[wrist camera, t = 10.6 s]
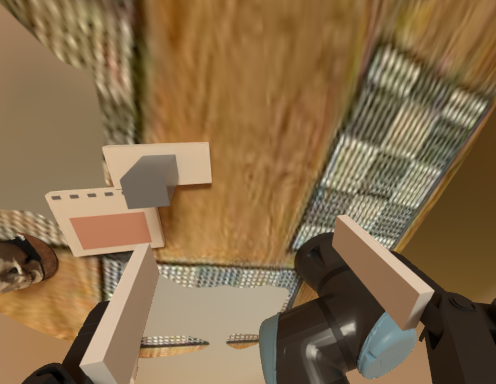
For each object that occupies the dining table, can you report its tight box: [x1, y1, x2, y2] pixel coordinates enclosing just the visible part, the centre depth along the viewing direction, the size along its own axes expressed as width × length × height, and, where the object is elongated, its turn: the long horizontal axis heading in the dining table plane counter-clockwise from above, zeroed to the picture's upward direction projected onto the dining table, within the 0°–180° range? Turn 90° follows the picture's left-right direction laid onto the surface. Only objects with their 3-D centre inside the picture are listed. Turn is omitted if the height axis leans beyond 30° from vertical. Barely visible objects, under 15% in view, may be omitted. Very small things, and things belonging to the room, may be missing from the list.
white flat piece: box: [45, 187, 165, 257], centre depth 38 cm, size 13×16×2 cm
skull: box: [0, 232, 57, 294], centre depth 37 cm, size 12×10×10 cm
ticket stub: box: [102, 142, 212, 209], centre depth 30 cm, size 7×16×12 cm, turn 90°
